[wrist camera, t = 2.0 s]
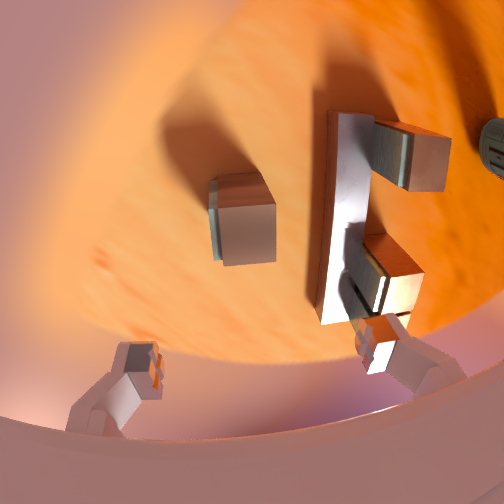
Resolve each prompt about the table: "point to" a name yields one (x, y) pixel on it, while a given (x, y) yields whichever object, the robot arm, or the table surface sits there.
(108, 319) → the table surface
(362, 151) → the grey block holder
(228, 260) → the brown-topped upright block
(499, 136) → the beverage bottle
